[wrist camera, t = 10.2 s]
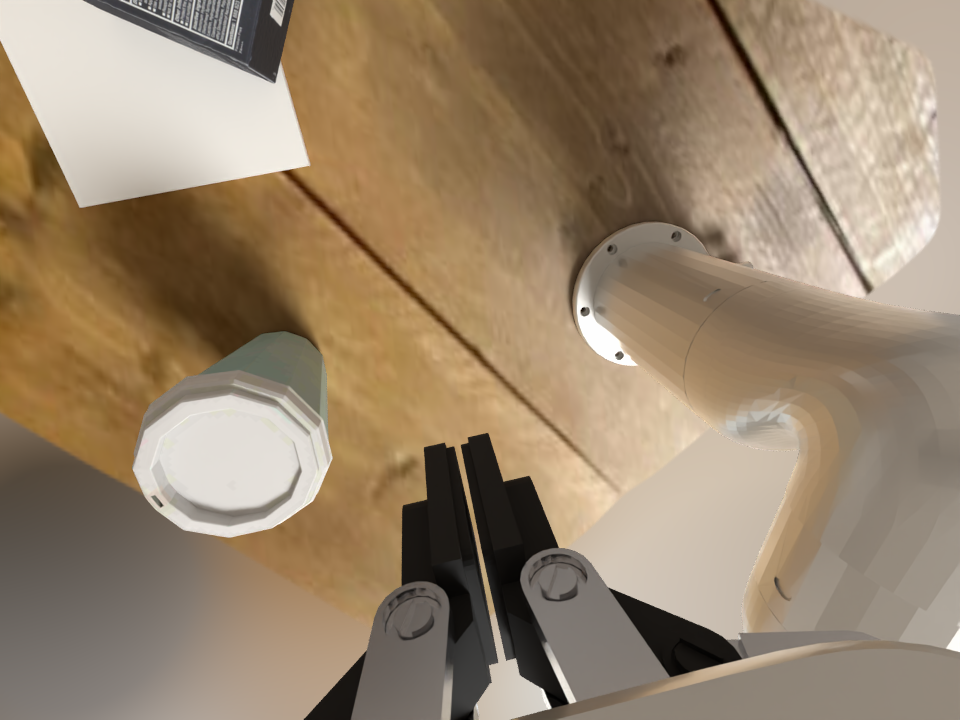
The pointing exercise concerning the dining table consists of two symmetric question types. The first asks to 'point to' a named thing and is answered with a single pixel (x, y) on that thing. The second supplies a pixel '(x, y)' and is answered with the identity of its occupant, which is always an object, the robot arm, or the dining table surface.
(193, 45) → the small box
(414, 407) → the dining table surface
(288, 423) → the disposable coffee cup
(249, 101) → the white mat
